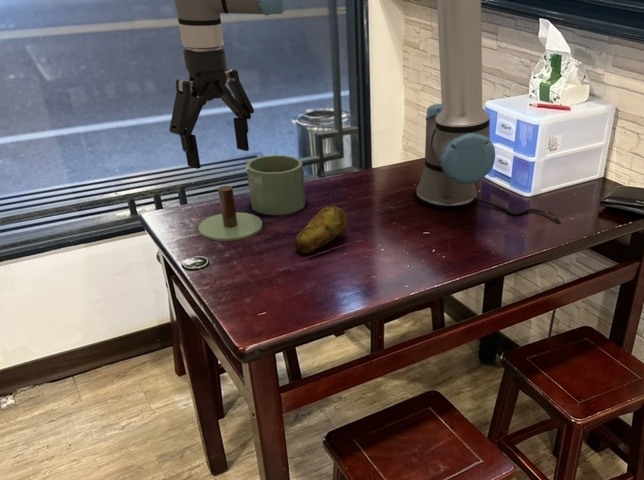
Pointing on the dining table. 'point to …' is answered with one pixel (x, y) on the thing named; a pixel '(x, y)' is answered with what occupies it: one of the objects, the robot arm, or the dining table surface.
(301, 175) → the pot
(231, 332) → the dining table surface
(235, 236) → the lid
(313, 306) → the dining table surface
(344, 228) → the potato
